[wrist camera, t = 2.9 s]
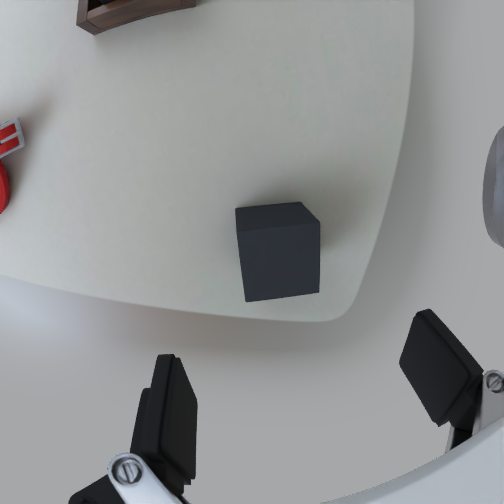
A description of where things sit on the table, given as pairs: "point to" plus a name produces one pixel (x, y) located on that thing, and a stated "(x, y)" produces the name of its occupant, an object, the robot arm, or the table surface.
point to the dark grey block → (278, 251)
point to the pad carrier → (122, 12)
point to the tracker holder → (3, 143)
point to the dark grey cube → (106, 1)
